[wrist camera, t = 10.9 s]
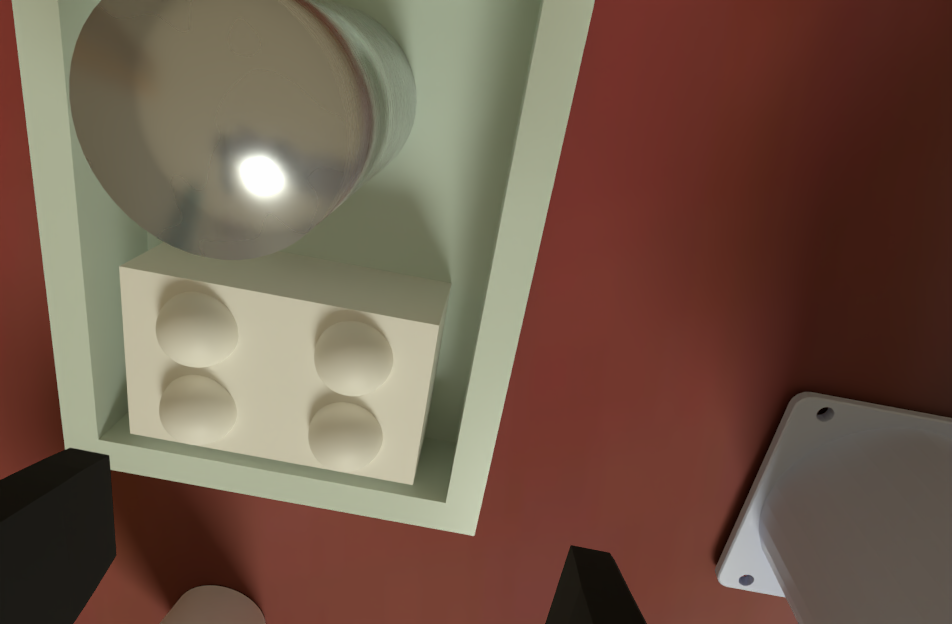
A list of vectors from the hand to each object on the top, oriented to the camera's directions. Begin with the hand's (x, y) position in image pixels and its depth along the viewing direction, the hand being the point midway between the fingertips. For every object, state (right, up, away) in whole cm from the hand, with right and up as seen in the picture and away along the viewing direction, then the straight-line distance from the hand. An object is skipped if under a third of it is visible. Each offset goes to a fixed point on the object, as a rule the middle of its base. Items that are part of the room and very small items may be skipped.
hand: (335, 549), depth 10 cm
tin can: (-2, +9, +7) cm, 12 cm away
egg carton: (-3, +3, +9) cm, 10 cm away
